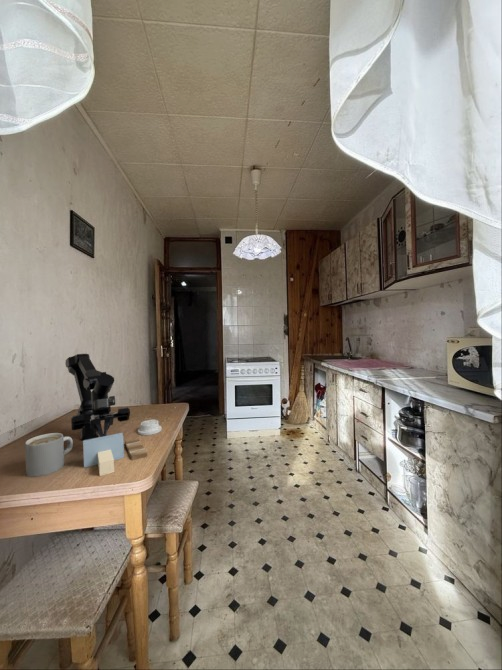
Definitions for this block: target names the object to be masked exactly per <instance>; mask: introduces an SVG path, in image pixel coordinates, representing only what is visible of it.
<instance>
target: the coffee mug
mask: <svg viewBox="0 0 502 670" xmlns="http://www.w3.org/2000/svg"><path fill="white" fill-rule="evenodd" d="M65 442H67V446H66V448H65V449H64V447H65V446H64V443H65ZM24 444H25V445H24V449H25V475H26V476H27V477H30V478H38V477H44V476H47V475H50V474H53V473H56V472H58V471H59V470H61V469H62V468H64V466H65V456H66V455H67V454H68V453H70V452H71V451H72V449H73V446H74V440H73V439H72V437H71V436H64V434H63V433H60V432H51V433H45V434H40V435H36V436H35V437H32V438H29V439H28V440H26V441H25V443H24Z"/></svg>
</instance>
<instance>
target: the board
mask: <svg viewBox="0 0 502 670" xmlns="http://www.w3.org/2000/svg"><path fill="white" fill-rule="evenodd" d="M124 445H125V447H126V450H127V451H128V455H129V457H130V459H131V461H134V460H138V459H142V458H146V457H148V453H147V450H146V448H145V447H144V446H143V444H142V442H141V441H140V439H139V438H134V439H129V440H125V441H124Z"/></svg>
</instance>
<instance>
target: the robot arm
mask: <svg viewBox="0 0 502 670" xmlns="http://www.w3.org/2000/svg"><path fill="white" fill-rule="evenodd" d="M64 363H65V367H66V368H67V371H68V373H69V374H71V375H72V376H74V381H75V384H76V389H77V392H78V396H79V401H80V405H79V408H78V411H77V414H76V415H73V416H72V417H71V420H70V421H71V422H70V423H71V430H72V431H78V430H80V431H81V434H80V437H79V438H80V441H84V440H89V439H94V438H99V437H103V436H107V434H108V430H109V429H110V426H113V425H114V419H117V422H120V423H122V422H126V421H129V420H130V415H131V410H130V408H129V407H128V406H127V407H120V408H118V409H117V412H111V411H112V409H111V406H112V407H113V406H115V405H116V396H115V395H111V396H109V393H110V392H111V391H112V388H113V385H114V383H115V377H114V376H113V375H111V374H109V373H107V372H106V371H100V370H98V369H96V367H95V366H94V364H93V362H92V360H91V359H90V354H89V353H77V354H74V355H73V356H68V357H67V358H66V359H65V362H64ZM103 421H104V422H103ZM102 422H103V423H104V424H103V427H102Z"/></svg>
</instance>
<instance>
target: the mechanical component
mask: <svg viewBox="0 0 502 670" xmlns="http://www.w3.org/2000/svg"><path fill="white" fill-rule="evenodd" d="M161 431H162V425H160V424H159V420H157V419H147V420H144V421H141V423H140V427H139V428H138V430H137V434H138V435H140V436H151V435H155V434H158V433H160V432H161Z"/></svg>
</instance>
